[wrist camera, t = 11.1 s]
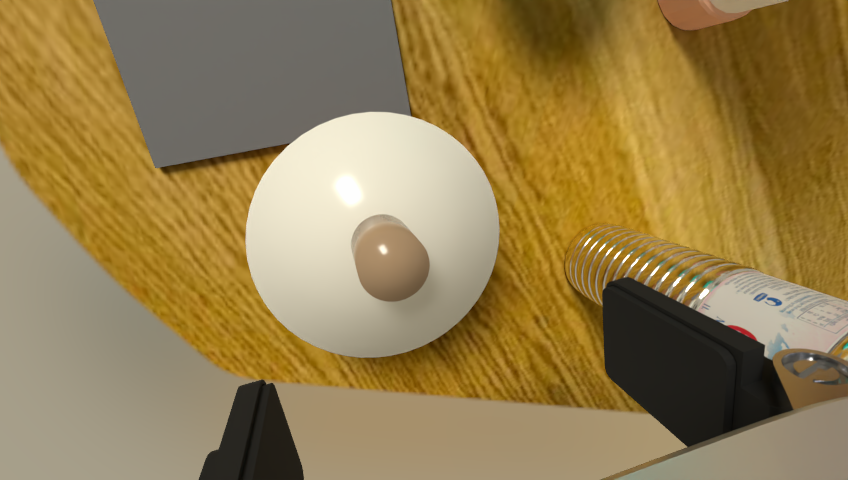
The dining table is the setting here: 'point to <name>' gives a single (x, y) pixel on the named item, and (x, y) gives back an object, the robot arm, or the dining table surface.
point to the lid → (372, 234)
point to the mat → (250, 69)
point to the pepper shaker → (708, 11)
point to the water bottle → (710, 288)
